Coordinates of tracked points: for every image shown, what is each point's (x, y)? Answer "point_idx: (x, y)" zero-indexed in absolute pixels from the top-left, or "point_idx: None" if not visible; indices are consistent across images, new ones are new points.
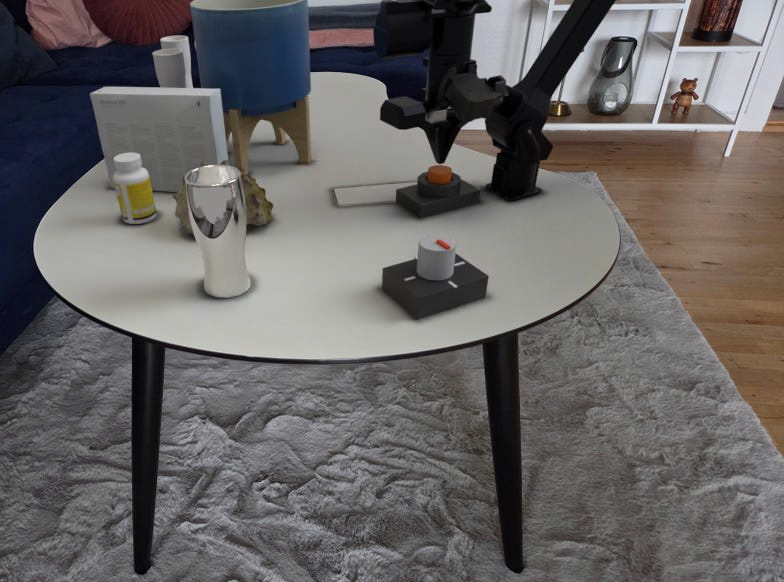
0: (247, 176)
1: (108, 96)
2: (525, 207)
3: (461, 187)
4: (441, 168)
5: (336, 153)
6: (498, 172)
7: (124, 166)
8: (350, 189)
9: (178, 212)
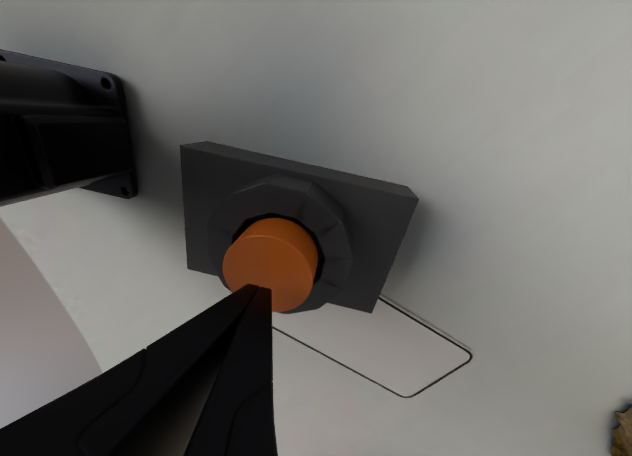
0: None
1: None
2: (100, 7)
3: (221, 200)
4: (256, 278)
5: (283, 452)
6: (66, 151)
7: None
8: (387, 378)
9: None
